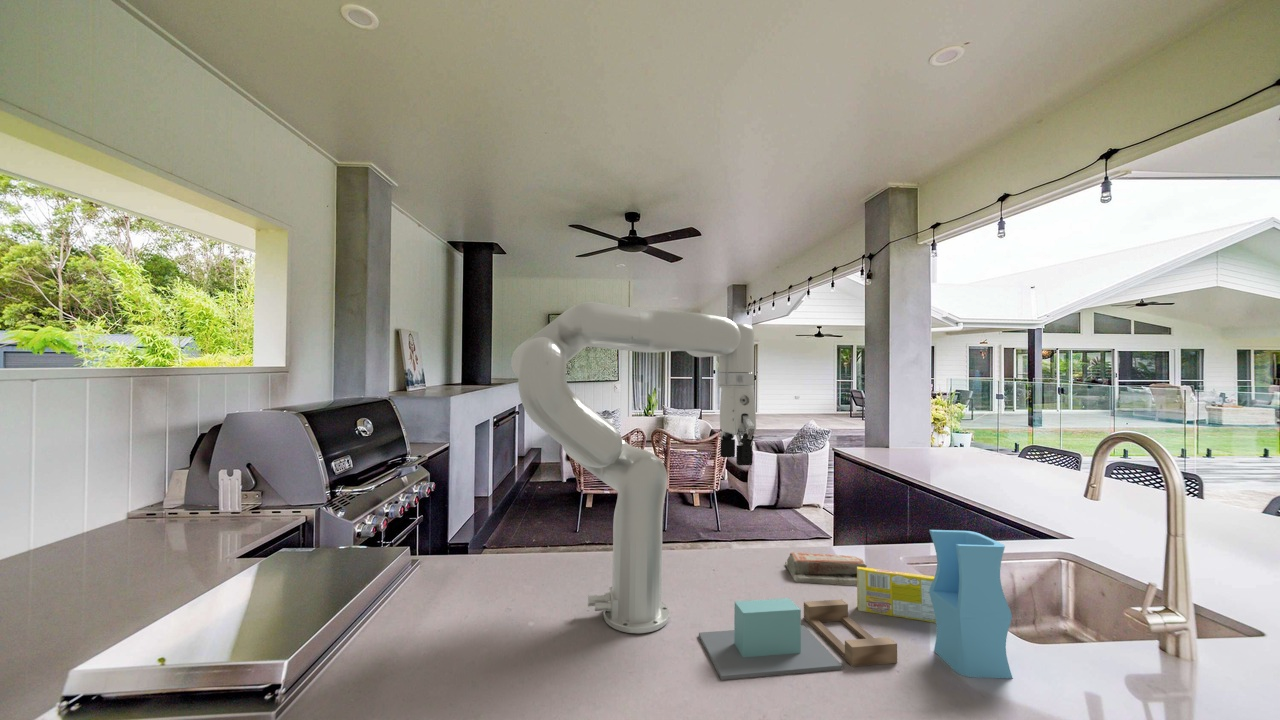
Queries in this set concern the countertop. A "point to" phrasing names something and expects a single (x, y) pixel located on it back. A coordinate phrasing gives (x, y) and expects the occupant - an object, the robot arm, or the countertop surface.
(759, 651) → the block
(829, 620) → the frame
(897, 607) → the candy box
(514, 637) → the countertop surface
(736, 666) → the mat
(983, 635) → the vase
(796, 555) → the packaged product
